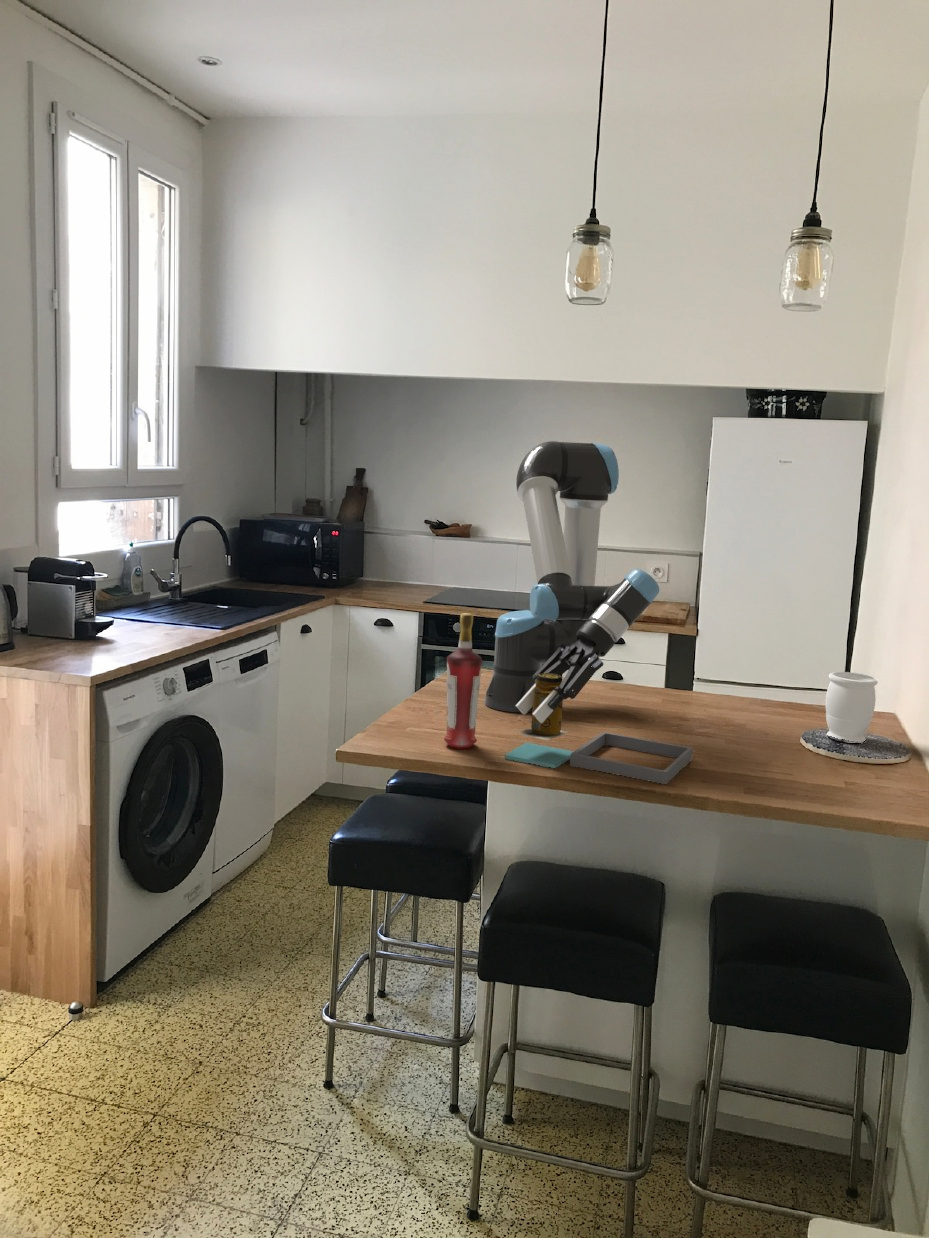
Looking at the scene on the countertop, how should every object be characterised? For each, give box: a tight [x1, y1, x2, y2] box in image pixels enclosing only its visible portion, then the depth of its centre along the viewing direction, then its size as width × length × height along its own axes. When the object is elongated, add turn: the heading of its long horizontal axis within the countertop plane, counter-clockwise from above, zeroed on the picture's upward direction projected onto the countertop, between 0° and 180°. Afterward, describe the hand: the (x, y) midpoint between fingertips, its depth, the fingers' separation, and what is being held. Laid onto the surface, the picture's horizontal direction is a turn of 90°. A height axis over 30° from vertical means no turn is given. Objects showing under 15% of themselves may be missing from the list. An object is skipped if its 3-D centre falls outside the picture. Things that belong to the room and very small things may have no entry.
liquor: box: [443, 613, 483, 750], centre depth 201 cm, size 7×7×28 cm
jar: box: [825, 671, 879, 742], centre depth 223 cm, size 11×10×15 cm
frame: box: [569, 731, 694, 785], centre depth 198 cm, size 20×20×2 cm
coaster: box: [504, 742, 575, 769], centre depth 198 cm, size 11×11×1 cm
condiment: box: [516, 673, 569, 741], centre depth 196 cm, size 7×8×12 cm
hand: (528, 714), depth 195 cm, fingers closed on condiment, 6 cm apart
